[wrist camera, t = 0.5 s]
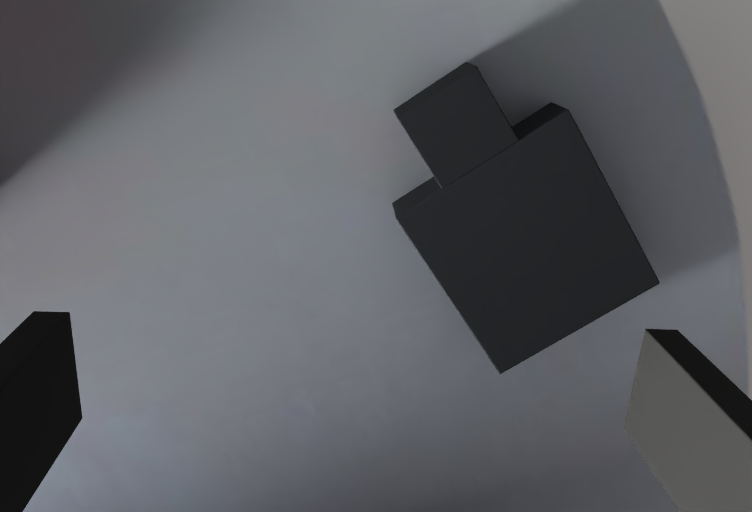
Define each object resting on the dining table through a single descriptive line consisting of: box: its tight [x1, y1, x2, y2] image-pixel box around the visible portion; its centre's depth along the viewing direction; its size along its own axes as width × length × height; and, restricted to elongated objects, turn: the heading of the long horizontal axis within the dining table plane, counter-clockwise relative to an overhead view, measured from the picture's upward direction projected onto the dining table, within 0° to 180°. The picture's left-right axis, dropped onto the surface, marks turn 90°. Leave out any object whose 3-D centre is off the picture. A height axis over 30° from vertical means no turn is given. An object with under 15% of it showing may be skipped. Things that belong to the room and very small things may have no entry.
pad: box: [392, 62, 660, 374], centre depth 31 cm, size 9×14×2 cm, turn 33°
